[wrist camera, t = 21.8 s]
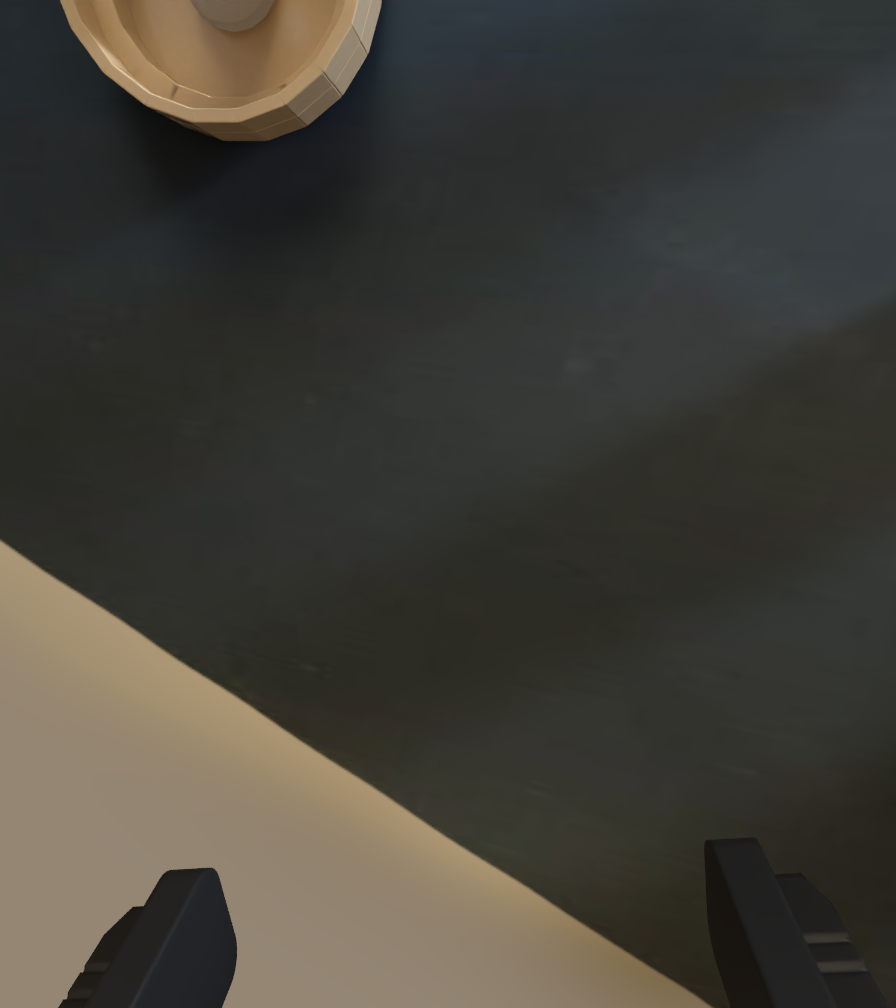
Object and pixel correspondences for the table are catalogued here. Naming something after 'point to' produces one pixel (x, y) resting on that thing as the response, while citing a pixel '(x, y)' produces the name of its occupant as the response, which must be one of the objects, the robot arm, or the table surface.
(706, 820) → the table surface
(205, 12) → the rook chess piece
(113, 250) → the table surface
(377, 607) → the table surface
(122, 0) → the bowl
